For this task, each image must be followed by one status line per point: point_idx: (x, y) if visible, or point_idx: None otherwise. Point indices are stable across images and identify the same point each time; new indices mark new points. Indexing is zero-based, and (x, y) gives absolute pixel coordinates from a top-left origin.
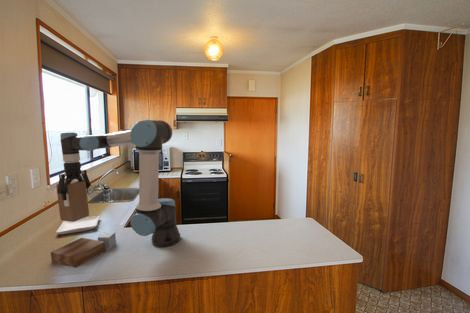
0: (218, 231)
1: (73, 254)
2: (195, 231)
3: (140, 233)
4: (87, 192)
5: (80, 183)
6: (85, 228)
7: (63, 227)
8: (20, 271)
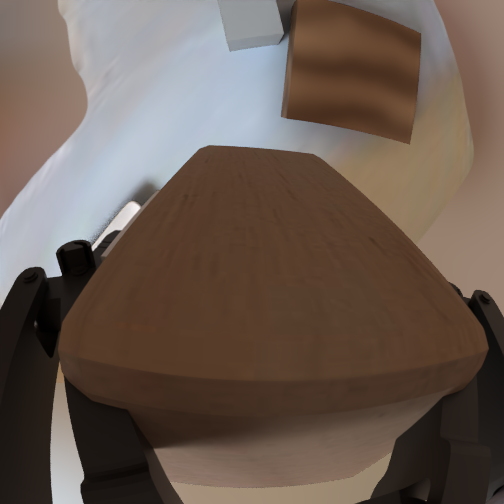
0: None
1: (409, 48)
2: None
3: None
4: (114, 238)
5: (225, 345)
6: None
7: None
8: (432, 186)
